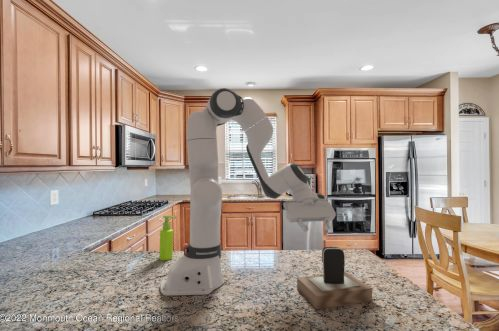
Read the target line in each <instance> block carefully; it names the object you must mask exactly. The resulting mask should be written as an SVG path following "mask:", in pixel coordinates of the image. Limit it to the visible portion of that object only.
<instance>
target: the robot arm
mask: <svg viewBox="0 0 499 331" xmlns="http://www.w3.org/2000/svg"><path fill="white" fill-rule="evenodd" d="M231 120H232V121H235V122H236V123H237V124H238V125H239V126H240V128H241V129H242V130H243V132H244V133H245V135H246V139H247V145H246V153H247V155H248V158H249V160H250V164H252V167H253V169H254V172H255V174H256V176H257V178H258V180H259V182H260V186H261V189H262V191H263V194H264V195H265V196H266V197H267V198H270V199H274V200H276V199H278V198H280V197H281V196H283V194H286V193H287V192H290V193H291V195H292V198H291V199H292V200H286V201H284V202H283V203H282V206H283V209H284V210H285V216H286V221H287V222H289V223H297V225H298V226H299V227H300V228H302V231H303V232H308V231H309V227H308V225H307V224H305V223H309V222H311V223H312V222H313V223H314V222H323V223H325V225H324V226H323V228H324V230H325V231H330V230H331V226H330V222H331V221H332V222H333V220H334V219H335V218H336V214H337V213H336V211H335V209H334V208H333V205H332V204H331V203H330V202H329V201H327V199H328V198H327V196H326V195H324V194H320V193H316V192H314V191H313V190H312V188H311V187H310V183H309V182H308V177H307V175H306V173H305V171H304V169H303V167H302V166H301V165H300V164H298V163H294V162H293V163H288V164H286V165H284V166H283V167H281V168H280V169H278V170H276V171H274V172H273V173H272V174H271V173H270V174H269V173H268V171H267V169H266V167H265V164H264V162H263V159H262V153H263V151H264V149H265V148H266V146H267V145H268V144H269V142H270V140H271V139H272V137H273V134H274V127H273V125H272V123H271V120H270V119H269V116H267V114H266V113H265V112H264V110H263V109H262V108H261V106H260V105H259V104H258V103H257V102H256V101H255V99H253V98H251V97H244V98H243V97H242V96H241V95H238V93H236V92H235V91H233V90H232V89H230V88H225V87H223V88H219V89H217V90H215V91H214V92H213V93H212V94H211V96H210V98H209V99H208V101H207V103H206V106H205V109H203V110H196V111H193V112H191V113H190V114H189V115H188V118H187V121H186V122H187V123H186V124H187V125H186V145H187V148H186V149H187V158H188V159H187V160H188V170H189V185H190V197H189V198H190V200H189V202H190V205H189V206H190V208H189V214H190V215H189V218H190V219H189V244H188V243H186V242H185V243H183V244H182V249H183V255H182V256H180V257H179V258H178V259H177V260H176V261H175V262H173V263H172V264H171V265H170V266H169V268H168V272H167V275H166V276H165V277H164V278H163V279H162V280H161V282H160V287H159V289H160V290H159V291H160V293H161V295H163V296H166V297H167V296H168V297H169V296H195V295H196V296H197V295H198V296H199V295H201V296H203V295H210V294H211V293H212V292H213V291H214V290H216V289H218V288H220V287H222V285H223V284H224V283H225V280H224V276H223V271H222V265H221V258H222V243H221V216H222V204H223V190H222V186H221V184H220V183H219V153H218V138H217V127H220V126H222V125H225V124H227V123H228V122H229V121H231Z"/></svg>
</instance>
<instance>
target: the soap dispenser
mask: <svg viewBox="0 0 499 331" xmlns="http://www.w3.org/2000/svg"><path fill="white" fill-rule="evenodd" d="M162 218H164V222H162V229H161V230H159V254H158V255H159V256H158V257H159V260H160V261H169V260H172V259H173V255H174V253H173V252H174V251H173V250H174V249H173V248H174V246H173V244H174V230H173V229H171V222H169V221H170V220H169V219H175V218H176V216H174V215H164V216H162Z"/></svg>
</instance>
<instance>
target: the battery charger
mask: <svg viewBox="0 0 499 331" xmlns="http://www.w3.org/2000/svg"><path fill="white" fill-rule="evenodd" d="M345 258H346V257H345V252H344V249H342V248H340V247H338V246H325V247H324V248H323V249H322V250H321V262H322V271H323V272H322V275H323V281H324V283H332V284H343V283H344V272H345V265H346V264H345V261H346V260H345Z"/></svg>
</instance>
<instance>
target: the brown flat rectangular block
mask: <svg viewBox="0 0 499 331" xmlns="http://www.w3.org/2000/svg"><path fill="white" fill-rule="evenodd" d="M296 280H297V281H296V282H297V283H296V290H297V291H298V292H299V293H300V294H301V295H302V296H303V297H304V298H305V299H306V300H307V301H308V302H309V303H310V304H311V305H312V307H314V308H315V309H316V310H323V309H329V308H336V307H341V306H348V305H355V304H359V303H360V304H361V303H365V302H371V301H373V288H372V287H371V286H370V285H368V284H366V283H364V282H363V281H362V280H360V279H358V278H356V277H355V276H353V275H352V274H350V273H348V272H347V271H344V283H343V284H332V283H324V281H323V274H318V275H316V274H315V275H309V276H299V277H297V278H296Z"/></svg>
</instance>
